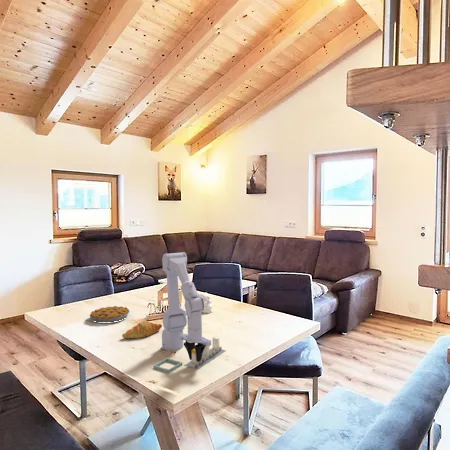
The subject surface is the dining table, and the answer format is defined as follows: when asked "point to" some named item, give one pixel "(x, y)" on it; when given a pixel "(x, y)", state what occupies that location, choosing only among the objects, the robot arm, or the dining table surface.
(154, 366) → the tray
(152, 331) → the croissant
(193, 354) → the cylinder
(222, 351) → the fuse panel
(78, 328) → the dining table surface
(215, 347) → the fuse far
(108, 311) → the pie
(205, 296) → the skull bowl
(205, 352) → the fuse middle
